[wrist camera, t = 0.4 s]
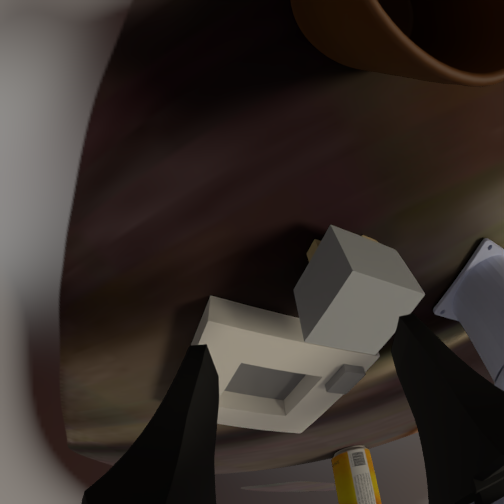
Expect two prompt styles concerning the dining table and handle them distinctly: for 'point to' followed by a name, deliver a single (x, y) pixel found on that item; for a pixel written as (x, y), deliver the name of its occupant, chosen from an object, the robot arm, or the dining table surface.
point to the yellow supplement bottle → (355, 476)
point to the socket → (273, 368)
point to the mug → (410, 37)
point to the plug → (353, 292)
